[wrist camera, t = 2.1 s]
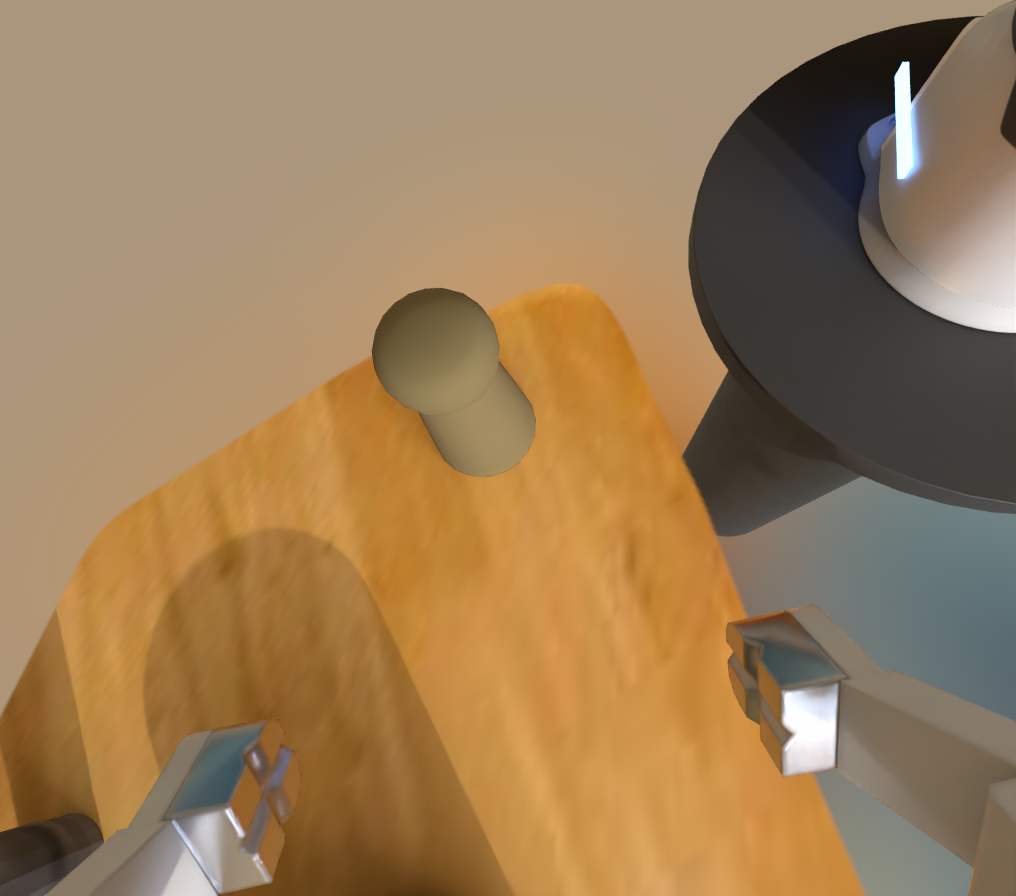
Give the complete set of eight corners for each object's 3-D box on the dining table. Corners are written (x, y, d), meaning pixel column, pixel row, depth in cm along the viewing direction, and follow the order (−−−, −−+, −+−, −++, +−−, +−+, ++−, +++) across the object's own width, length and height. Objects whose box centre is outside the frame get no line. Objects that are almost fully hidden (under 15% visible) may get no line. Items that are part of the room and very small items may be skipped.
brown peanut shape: (555, 406, 30) (530, 297, 19) (500, 496, 29) (443, 432, 18) (469, 362, 31) (404, 242, 21) (414, 446, 30) (318, 362, 20)
